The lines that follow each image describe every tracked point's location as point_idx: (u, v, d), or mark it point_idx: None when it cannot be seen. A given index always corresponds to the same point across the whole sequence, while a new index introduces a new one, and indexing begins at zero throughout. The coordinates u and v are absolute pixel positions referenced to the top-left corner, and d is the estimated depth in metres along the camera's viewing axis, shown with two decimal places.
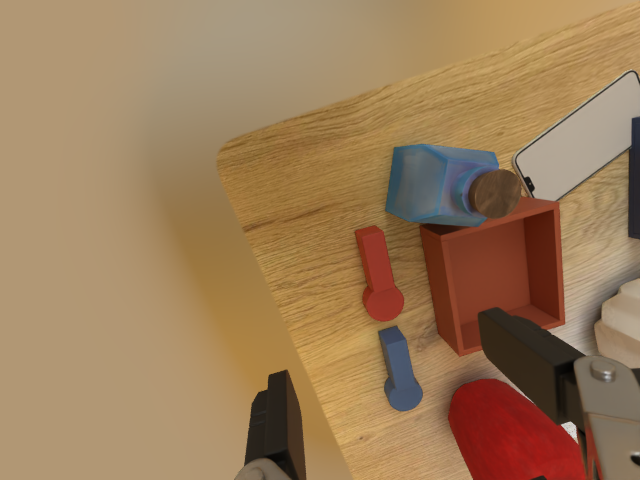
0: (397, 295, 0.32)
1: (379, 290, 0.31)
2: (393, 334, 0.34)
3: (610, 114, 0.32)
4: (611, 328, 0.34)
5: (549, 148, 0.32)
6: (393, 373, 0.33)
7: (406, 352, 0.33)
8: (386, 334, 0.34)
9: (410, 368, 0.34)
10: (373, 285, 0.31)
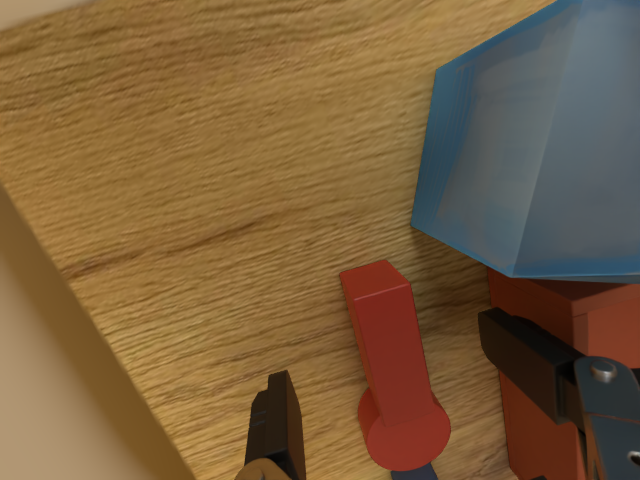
0: (436, 418, 0.14)
1: (397, 420, 0.13)
2: None
3: None
4: None
5: None
6: None
7: None
8: None
9: None
10: (383, 410, 0.13)
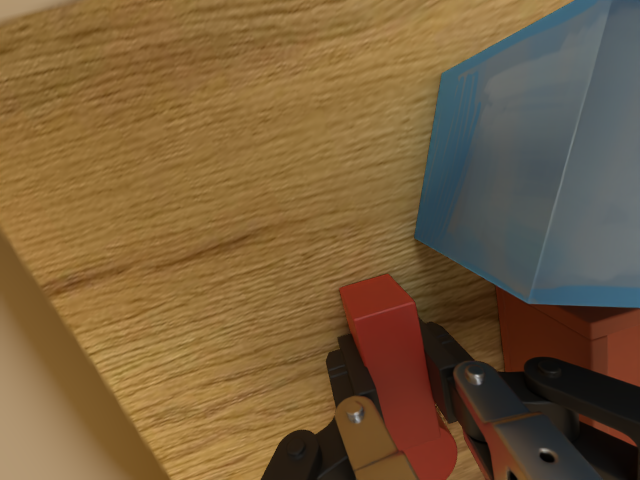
0: (442, 442, 0.13)
1: (401, 447, 0.12)
2: None
3: None
4: None
5: None
6: None
7: None
8: None
9: None
10: None
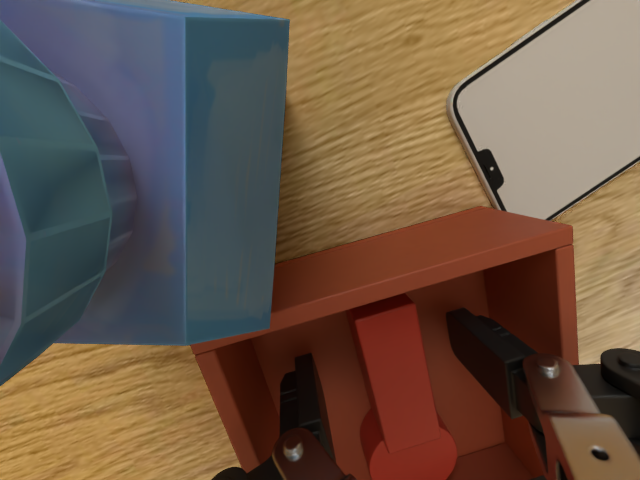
0: (442, 442, 0.14)
1: (402, 447, 0.12)
2: None
3: None
4: None
5: (544, 78, 0.12)
6: None
7: None
8: None
9: None
10: (387, 436, 0.12)
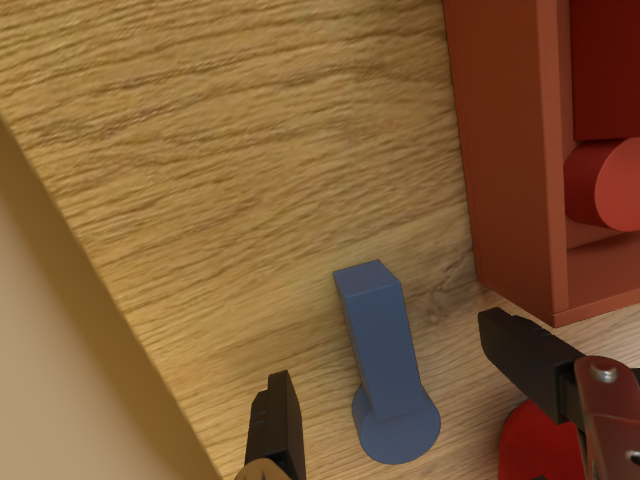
0: None
1: None
2: (368, 274, 0.13)
3: None
4: None
5: None
6: (367, 376, 0.13)
7: (401, 319, 0.12)
8: (350, 276, 0.13)
9: (412, 362, 0.13)
10: None
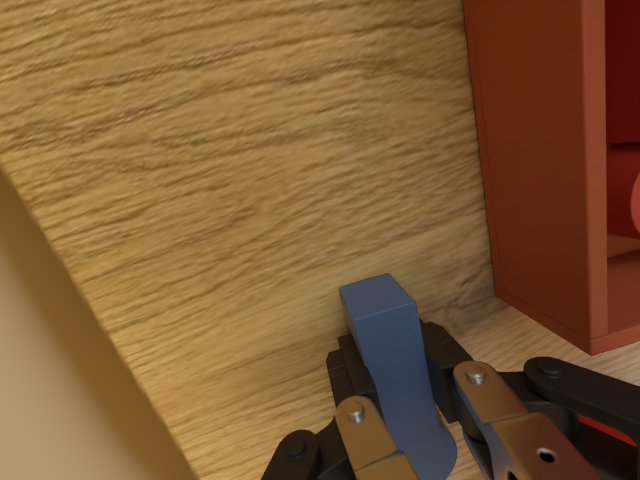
0: None
1: None
2: (378, 291, 0.12)
3: None
4: None
5: None
6: None
7: (416, 343, 0.11)
8: (357, 292, 0.12)
9: (428, 389, 0.11)
10: None
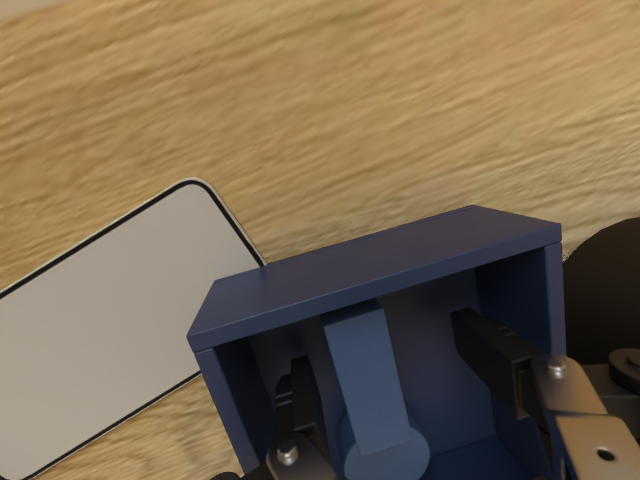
0: None
1: None
2: None
3: (154, 281, 0.13)
4: None
5: None
6: (349, 409, 0.12)
7: (385, 348, 0.11)
8: None
9: (398, 393, 0.12)
10: None
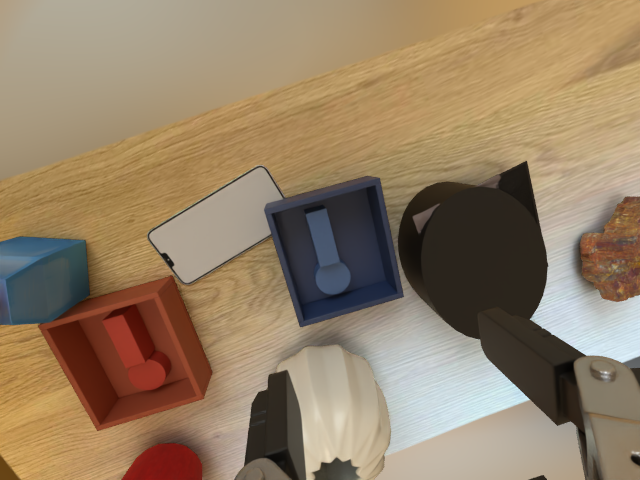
0: (157, 367, 0.35)
1: (130, 365, 0.34)
2: (316, 208, 0.33)
3: (244, 203, 0.34)
4: None
5: (184, 228, 0.34)
6: (315, 246, 0.33)
7: (327, 223, 0.32)
8: (309, 209, 0.34)
9: (333, 241, 0.33)
10: (123, 361, 0.33)
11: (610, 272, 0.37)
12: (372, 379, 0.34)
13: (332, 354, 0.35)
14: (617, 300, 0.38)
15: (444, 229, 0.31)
